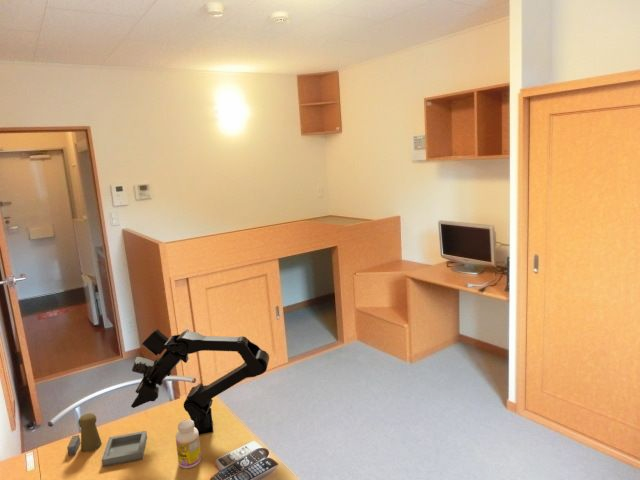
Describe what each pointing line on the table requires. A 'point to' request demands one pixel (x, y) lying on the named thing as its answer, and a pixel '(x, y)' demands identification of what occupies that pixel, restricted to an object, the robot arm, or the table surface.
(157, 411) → the table surface
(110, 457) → the tray
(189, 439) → the supplement bottle
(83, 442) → the cork
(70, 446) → the bar
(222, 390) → the robot arm
